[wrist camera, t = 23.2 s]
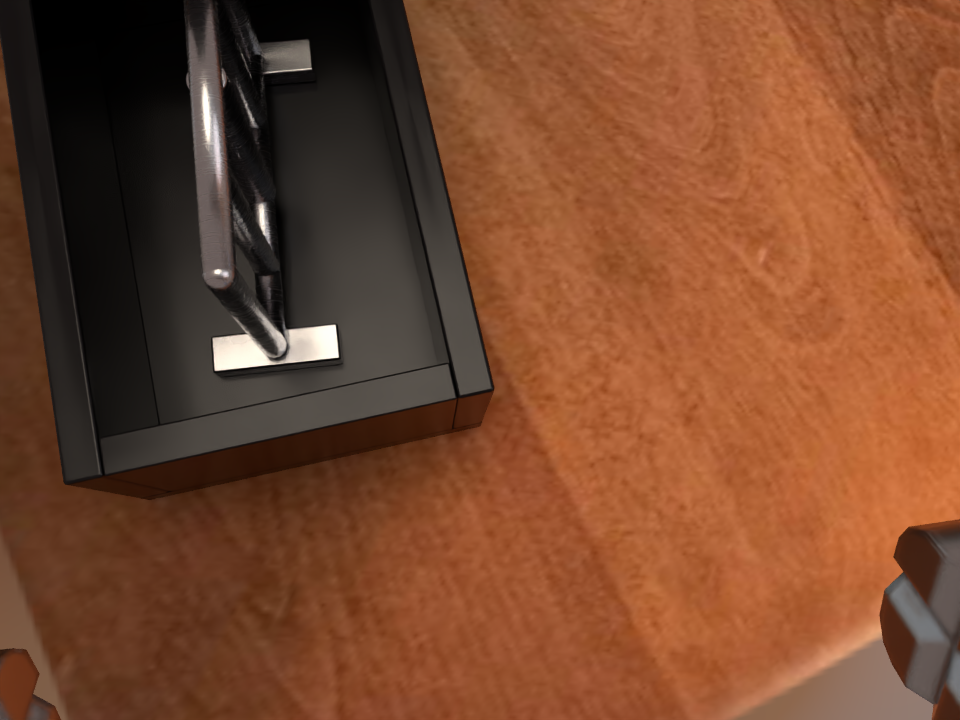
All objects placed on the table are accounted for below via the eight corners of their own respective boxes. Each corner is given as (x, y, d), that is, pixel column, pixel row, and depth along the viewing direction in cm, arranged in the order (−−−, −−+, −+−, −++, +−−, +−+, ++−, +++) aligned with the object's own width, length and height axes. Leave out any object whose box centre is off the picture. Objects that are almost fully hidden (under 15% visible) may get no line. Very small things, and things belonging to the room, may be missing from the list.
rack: (343, 364, 30) (306, 285, 21) (218, 377, 29) (127, 303, 21) (313, 50, 32) (268, -140, 23) (196, 60, 32) (105, -130, 23)
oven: (481, 426, 31) (495, 390, 24) (148, 500, 30) (62, 485, 23) (377, -23, 34) (363, -169, 27) (72, 29, 33) (-22, -108, 26)
